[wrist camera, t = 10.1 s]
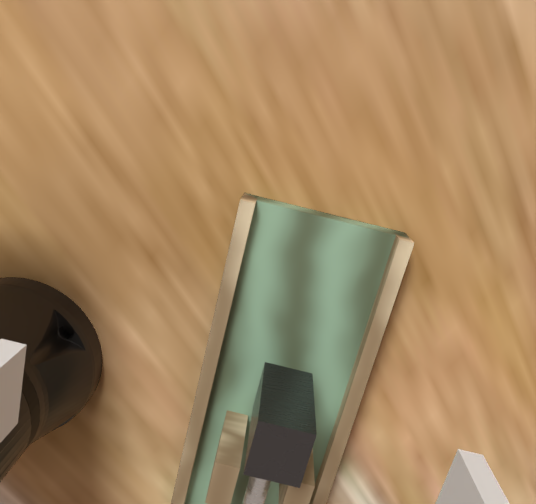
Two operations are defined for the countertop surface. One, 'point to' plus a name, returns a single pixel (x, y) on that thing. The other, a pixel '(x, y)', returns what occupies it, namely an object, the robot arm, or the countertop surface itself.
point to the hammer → (279, 431)
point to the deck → (289, 340)
